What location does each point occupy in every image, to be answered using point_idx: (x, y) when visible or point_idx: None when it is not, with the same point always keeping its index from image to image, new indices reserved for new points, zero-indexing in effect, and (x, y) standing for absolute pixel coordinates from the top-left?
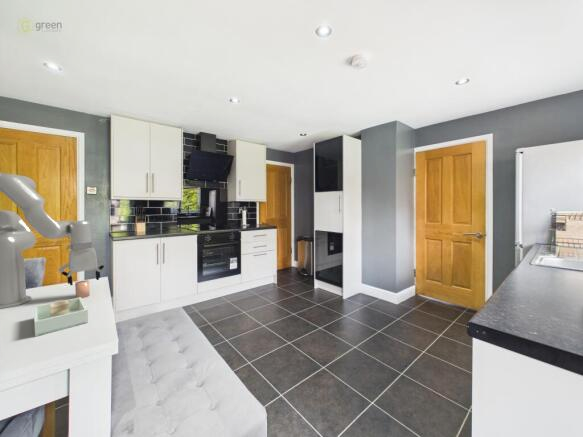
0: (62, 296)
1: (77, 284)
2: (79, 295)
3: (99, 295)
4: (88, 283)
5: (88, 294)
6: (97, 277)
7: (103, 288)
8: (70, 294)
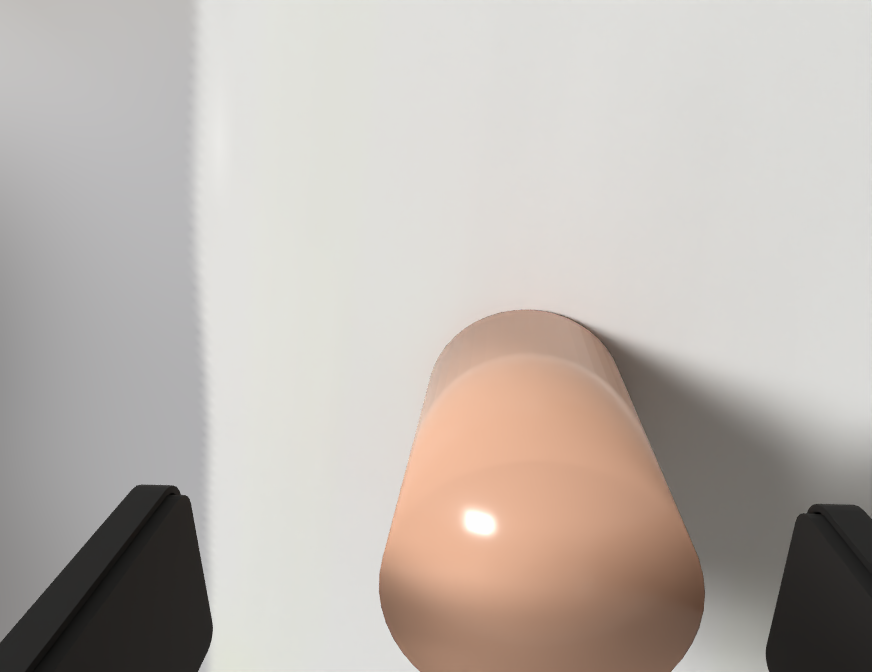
0: (743, 633)
1: (670, 503)
2: (590, 348)
3: (294, 271)
4: (409, 491)
5: (445, 356)
6: (128, 532)
7: (221, 602)
8: None
